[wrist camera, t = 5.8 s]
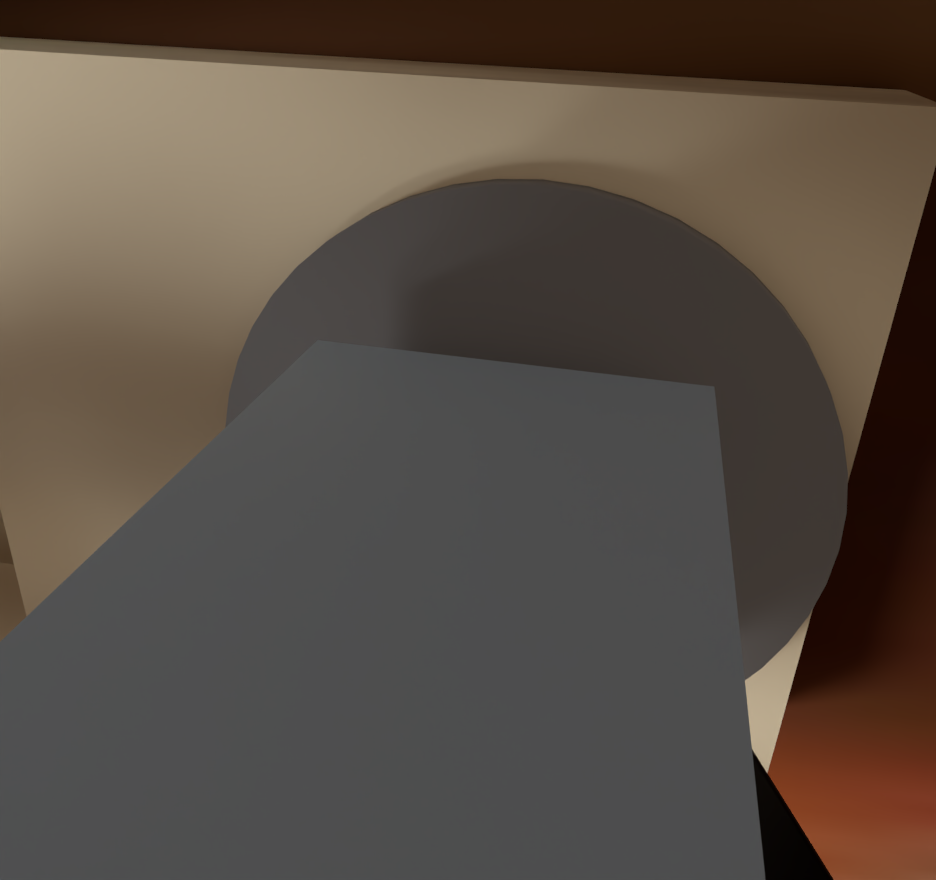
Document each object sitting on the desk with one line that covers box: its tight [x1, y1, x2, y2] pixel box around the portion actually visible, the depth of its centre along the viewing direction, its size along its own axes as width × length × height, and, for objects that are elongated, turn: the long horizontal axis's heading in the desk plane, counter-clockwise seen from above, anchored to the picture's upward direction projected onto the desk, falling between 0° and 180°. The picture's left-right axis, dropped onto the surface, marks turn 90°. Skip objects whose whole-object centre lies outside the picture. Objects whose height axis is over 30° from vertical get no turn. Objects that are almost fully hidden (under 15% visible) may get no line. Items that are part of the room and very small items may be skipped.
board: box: [0, 37, 936, 772], centre depth 13 cm, size 10×19×2 cm, turn 89°
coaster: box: [225, 179, 848, 680], centre depth 11 cm, size 8×8×1 cm
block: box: [0, 340, 765, 880], centre depth 7 cm, size 4×4×8 cm
